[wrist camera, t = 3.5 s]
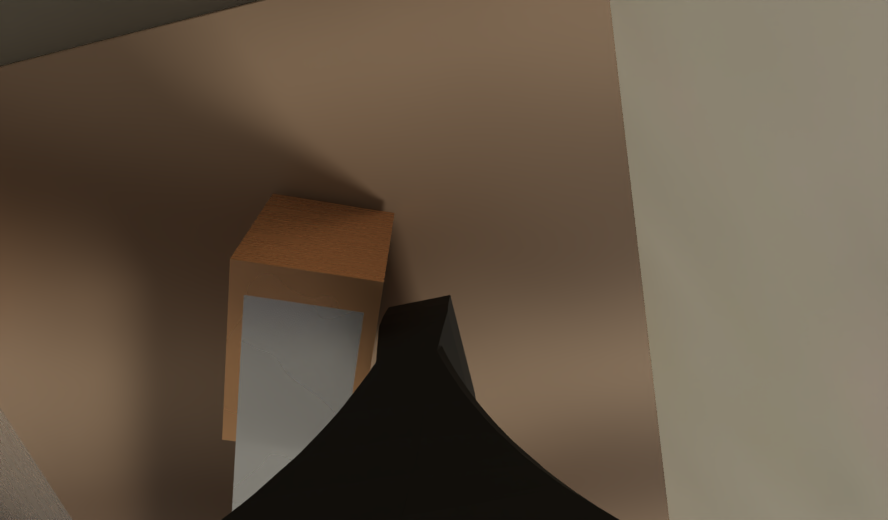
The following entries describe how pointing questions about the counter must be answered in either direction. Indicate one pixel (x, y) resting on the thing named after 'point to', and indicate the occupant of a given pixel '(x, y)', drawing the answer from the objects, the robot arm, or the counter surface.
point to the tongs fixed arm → (24, 482)
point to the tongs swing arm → (298, 327)
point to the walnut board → (329, 180)
